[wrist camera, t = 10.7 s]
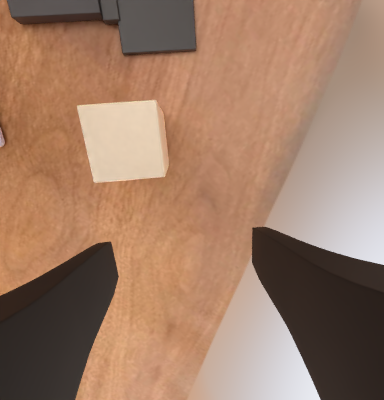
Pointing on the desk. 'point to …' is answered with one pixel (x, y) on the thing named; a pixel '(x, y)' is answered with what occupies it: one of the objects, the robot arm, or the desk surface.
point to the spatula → (121, 20)
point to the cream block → (125, 140)
